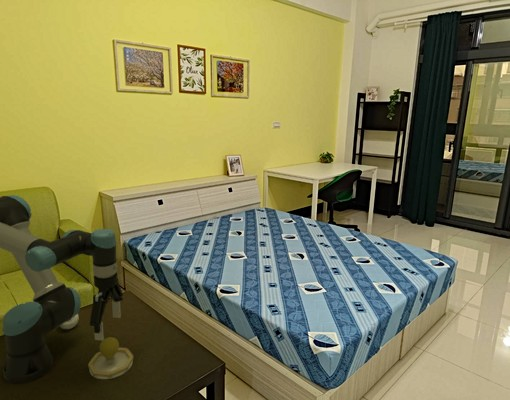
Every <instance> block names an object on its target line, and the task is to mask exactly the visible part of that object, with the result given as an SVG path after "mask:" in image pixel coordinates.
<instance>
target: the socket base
mask: <svg viewBox="0 0 510 400" xmlns="http://www.w3.org/2000/svg"><path fill="white" fill-rule="evenodd" d="M114 356H115V360H114V363H113V364H111V365H108V364H107V362H106V361H105V357H104V356H103V355H102V354H101V352H100V351H98V352H96V353H95V354H94V355H93V357H92V358H91V360H90V361H89V362H88V363H87V366H88V370H89V374H90V376H91V377H93V378H95V379H98V380H111V379H112V380H113V379H115V378H118V377H121V376H122V375H124V374H126V373H127V372H128V371H129V370H130V369H131V368H132V366H133V364H134V363H133V362H134V355H133V353H132V352H131V351H130V350H129V348H127V347H120V346H119V348H118V350H117V352H116V354H115V355H114Z"/></svg>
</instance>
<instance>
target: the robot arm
mask: <svg viewBox="0 0 510 400" xmlns="http://www.w3.org/2000/svg"><path fill="white" fill-rule="evenodd" d="M31 218H32V209H31V206H30V205H29V203H28V201H26V200H25V199H24V197H22V196H18V195H15V194H12V195H3V196H2V195H1V196H0V249H2V250H4V251H7V252H10V253H11V254H12V256H13V258H14V259H15V261H16V263H17V265H18V266H19V269H20V270H21V272H22V274H23V275H24V277H25V279H26V281H27V283H28V285H29V287H30V288H31V290H32V292H33V293H34V295H33V298H32V301H26V302H24V303H23V302H22V303H20V304H17V305H15V306H13V307H12V308H11V309H9V310H8V311H6V313H5V315H4V316H3V319H2V332H3V336H4V343H5V349H6V356H5V361H4V365H3V369H2V372H3V378H4V379H5V381H7V382H8V383H11V384H12V383H13V384H23V383H28V382H31V381H34V380H36V379H38V378H41V377H43V375H45V374H46V373H48V372H49V371H50V370H51V368H52V367H53V365H54V356H53V353H52V352H51V350H50V349H49V347H48V345H47V343H46V335H47V334H48V333H50V332H51V331H53V330H56V328H58V327H60V325H62V324H63V323H65V322H66V321H69V320H70V319H71V318H73V317H74V316H75V315H77V314H78V315H79V312H80V310H81V305H82V304H81V303H82V302H81V297H80V294H79V293H78V291H77V289H74V288H73V287H70V286H66V284H65V283H64V282H60V281H59V280H58V279H57V277H56V275H55V273H54V272H53V270H52V268H53V267H55V266H57V265H60V264H62V263H64V262H67V261H68V260H71V259H73V258H77V256H79V255H85V256H89V257H90V256H91V257H92V271H93V272H92V273H93V285H94V286H95V287H96V288H97V290H98V291H97V294H94V295H93V297H92V299H93V300H92V307H91V308H92V309H91V313H90V319H89V326H92V327H93V330H94V332H93V333H94V340H95V341H103V340H104V339H105V337H104V323H103V318H104V313H105V309H106V305H107V304H108V303H109V300H110V298H111V299H112V302H111V306H112V318H118V319H120V318H121V317H122V314H121V302H122V301H123V300H124V298H123V296H124V293H123V291H122V288H121V286H120V283H119V278H118V272H117V271H118V267H119V266H118V263H117V239H116V232H115V231H114V230H113V229H109V228H100V229H99V228H98V229H95V230H94V231H92V232H87V231H85V230H81V229H69V230H67V231H66V232H65V233H64V234H63V235H62V237H60V238H57V239H54V240H52V241H49V240H46V239H44V238H42V237H38V236H36V235H33V234H32V232H31V230H30V229H29V228H30V225H31V221H30V220H31Z"/></svg>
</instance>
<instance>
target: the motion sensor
mask: <svg viewBox="0 0 510 400" xmlns="http://www.w3.org/2000/svg"><path fill="white" fill-rule="evenodd" d="M79 318H80V317H79V313H78V314H77V315H75V316H74V317H73V318H71V319H70V320H69V321H66V322H65V323H63V324H62V325H60V326H59V327H60V328H61V329H62V330H70V329H72V328H74V327H75V326H76V325H77V324H78V322H79Z"/></svg>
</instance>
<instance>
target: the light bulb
mask: <svg viewBox="0 0 510 400" xmlns="http://www.w3.org/2000/svg"><path fill="white" fill-rule="evenodd" d="M119 347H120V343H119V340H118V339H117V338H116V337H113V336H112V337H111V336H108V337H106V338H104V339H103V340H101V342H100V343H99V348H98V349H99V352H101V354H102V355H103V356H104V357H105V361H106V362H107V364H108V365H111V364H113V363H114V360H115V356H114V355H115V354H116V352H117V350H118V348H119Z"/></svg>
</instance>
